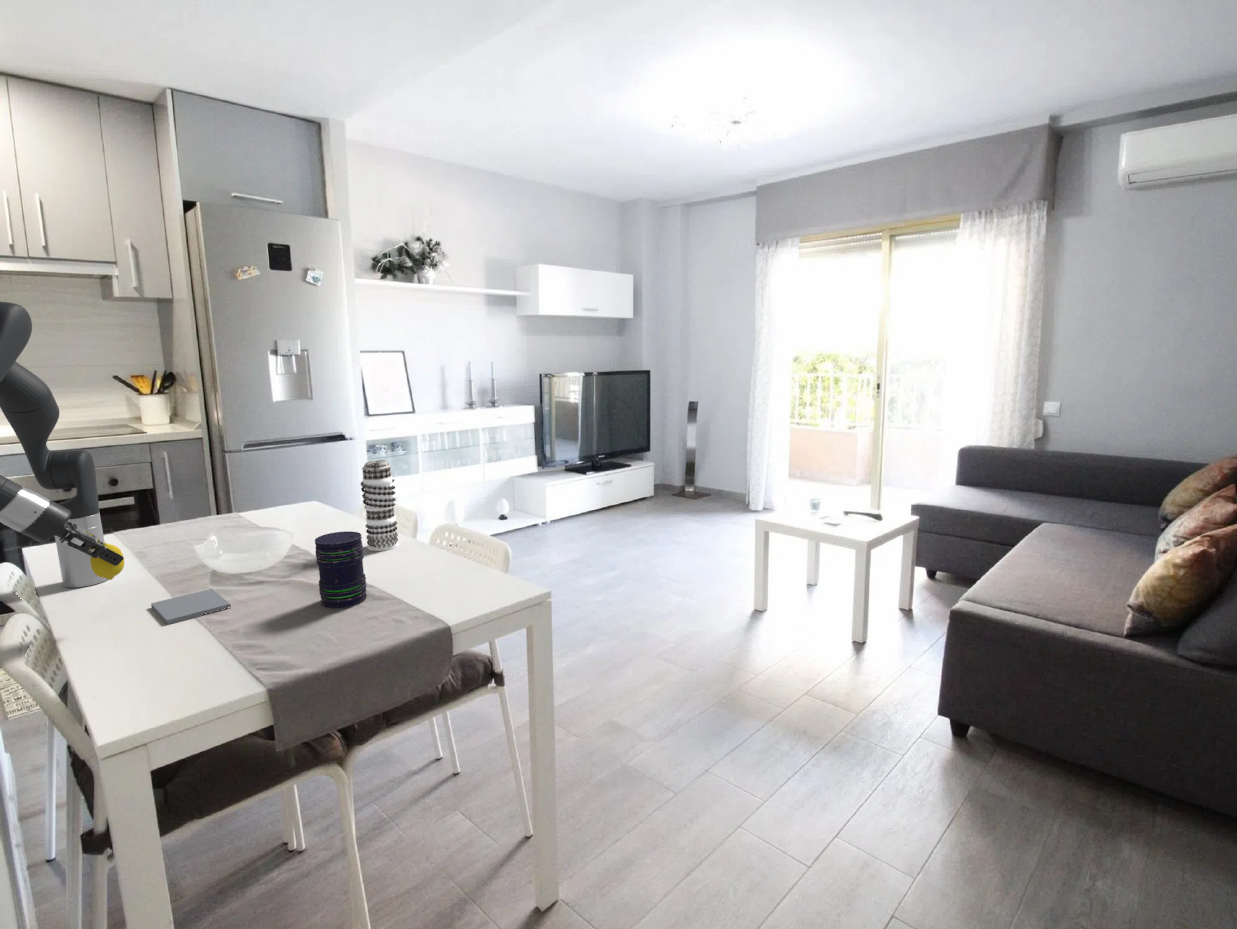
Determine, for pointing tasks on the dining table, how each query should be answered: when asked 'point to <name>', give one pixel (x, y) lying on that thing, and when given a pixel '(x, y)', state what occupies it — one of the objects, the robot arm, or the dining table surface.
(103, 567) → the lemon
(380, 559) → the dining table surface
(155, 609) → the mat
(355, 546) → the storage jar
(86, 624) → the dining table surface
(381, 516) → the decorative candle
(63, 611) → the dining table surface
